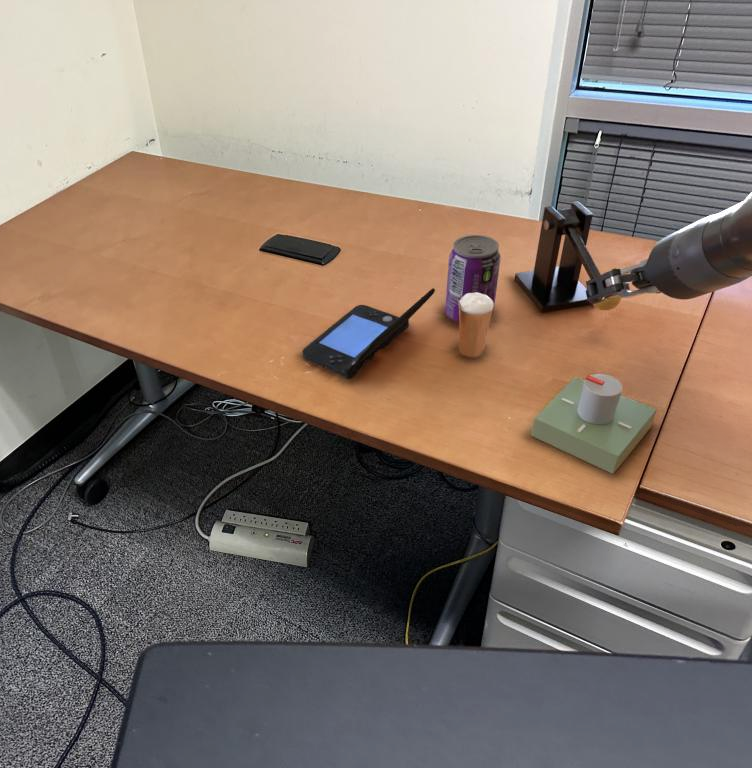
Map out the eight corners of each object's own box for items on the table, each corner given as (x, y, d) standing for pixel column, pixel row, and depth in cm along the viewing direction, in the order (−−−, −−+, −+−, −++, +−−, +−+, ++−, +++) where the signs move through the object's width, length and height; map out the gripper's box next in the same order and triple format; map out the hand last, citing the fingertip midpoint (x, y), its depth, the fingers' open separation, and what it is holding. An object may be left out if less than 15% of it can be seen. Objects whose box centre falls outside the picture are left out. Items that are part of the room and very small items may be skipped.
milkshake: (443, 348, 100) (447, 290, 93) (475, 338, 101) (482, 279, 94) (460, 365, 96) (466, 306, 90) (494, 355, 97) (502, 295, 91)
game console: (359, 309, 110) (359, 260, 104) (435, 337, 102) (439, 285, 96) (298, 359, 102) (293, 308, 96) (374, 393, 94) (375, 340, 88)
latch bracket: (593, 304, 103) (614, 221, 95) (541, 313, 103) (557, 230, 94) (562, 271, 111) (578, 191, 102) (514, 279, 111) (526, 200, 102)
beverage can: (495, 327, 102) (505, 257, 94) (445, 328, 103) (451, 258, 96) (490, 301, 107) (499, 232, 100) (443, 302, 109) (448, 233, 101)
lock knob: (620, 411, 82) (629, 380, 79) (604, 429, 80) (613, 398, 77) (586, 397, 84) (594, 367, 81) (570, 415, 82) (578, 384, 79)
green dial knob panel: (650, 427, 83) (657, 408, 81) (612, 474, 78) (619, 455, 76) (570, 394, 89) (574, 375, 87) (530, 435, 85) (534, 417, 83)
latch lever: (619, 313, 93) (630, 297, 90) (593, 317, 93) (603, 301, 90) (570, 221, 102) (578, 203, 99) (546, 225, 102) (554, 207, 99)
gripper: (648, 301, 72) (575, 328, 88) (781, 279, 72) (683, 310, 88) (632, 233, 73) (562, 271, 89) (765, 211, 73) (671, 253, 89)
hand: (623, 290), depth 88 cm, fingers open, 8 cm apart
